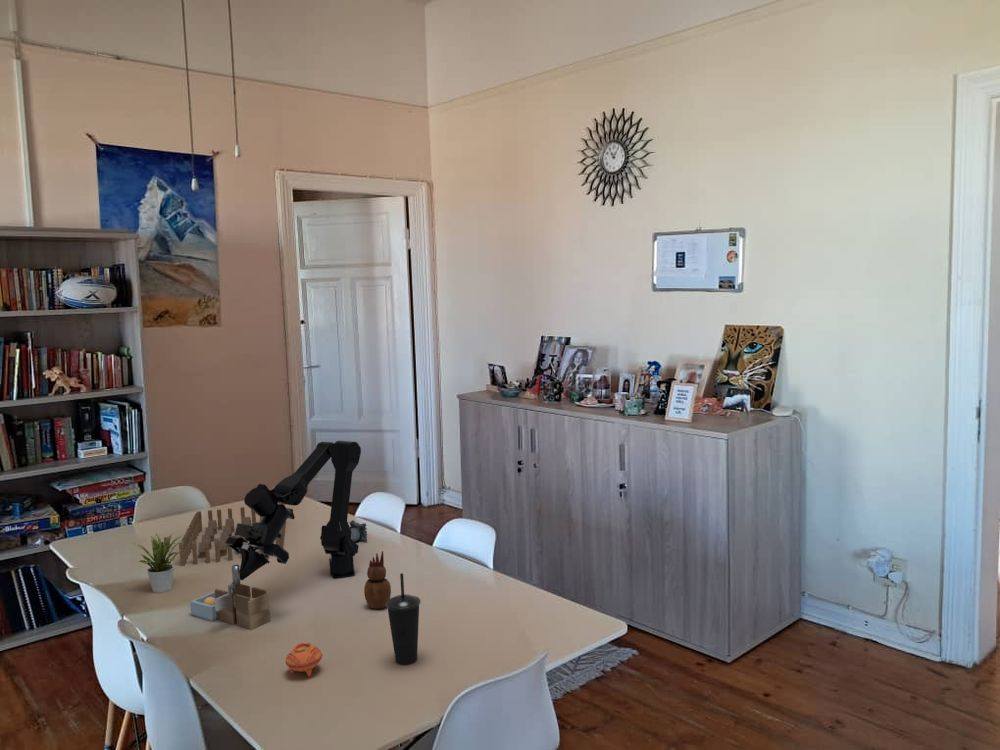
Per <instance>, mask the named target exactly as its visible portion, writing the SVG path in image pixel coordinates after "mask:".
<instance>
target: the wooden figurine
mask: <svg viewBox="0 0 1000 750" xmlns="http://www.w3.org/2000/svg"><path fill="white" fill-rule="evenodd" d="M379 558H380V559H379ZM384 563H385V561H384V551H383V550H382V551H381V554H380V557H379V554H378V552H376V553H375V557H372V560H371V559H370V560H369V563H368V568H367V572H366V575H367V578H368V579H367V580H366V581H365V583H364V584H365V585H364V587H363V588H364V589H363V591H364V592H363V593H364V598H365V601H366V603H367V605H368V607H369V608H371V609H374V610H380V609H385V608H387V607H386V602H387V600H389V599H390V598H391V593H392V587H391V583H390V581H389V579H387V578H386V576H387V569H386V567H385V564H384Z"/></svg>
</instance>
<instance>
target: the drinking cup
mask: <svg viewBox="0 0 1000 750" xmlns="http://www.w3.org/2000/svg"><path fill="white" fill-rule="evenodd" d="M399 578H400V579H399V580H400V594H399V595H398V594H397V595H395V596H393V597H390V599H389V600H387V602H386V607H385V608H387V613H388V620H389V627H390V632H391V639H392V646H393V653H394V658H395V663H396V664H398V665H403V666H405V665H406V666H407V665H411V664H414V663H415V662H417V660H418V649H419V647H418V646H419V645H418V644H419V624H420V623H419V619H420V605H421V599H420V598H419V596H417V595H412V594H405V584H404V581H405V580H404V573H399Z"/></svg>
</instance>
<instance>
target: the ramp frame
mask: <svg viewBox="0 0 1000 750" xmlns="http://www.w3.org/2000/svg"><path fill="white" fill-rule="evenodd" d="M231 584H233V582H231ZM240 584H241V586H240V587H239V588H232V602H233V605H231V606H229V607H226V608H224V609H222V610H219V611H216V612H217V620H216V621H220V622H223V623H227V624H230V625H235V624H236V626H238V627H241V628H245V629H248V630H251V631H252V630H255V629H257V628H259V627H261V626H264V625H265V624H267V623H270V622H271V609H270V597H269V595H270V594H269V593H267V590H266V589H262V588H258V587H255V586H253V587H251V586H250V585H247V584H243V583H240ZM214 591H215V599H216V598H218V597H221V596H223V595H225V594H228V590H227V591H226V590H222V589H220V588H219V589H218V588H216V589H214Z"/></svg>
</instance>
